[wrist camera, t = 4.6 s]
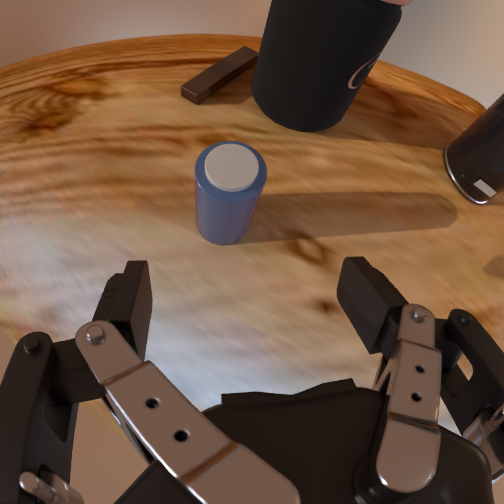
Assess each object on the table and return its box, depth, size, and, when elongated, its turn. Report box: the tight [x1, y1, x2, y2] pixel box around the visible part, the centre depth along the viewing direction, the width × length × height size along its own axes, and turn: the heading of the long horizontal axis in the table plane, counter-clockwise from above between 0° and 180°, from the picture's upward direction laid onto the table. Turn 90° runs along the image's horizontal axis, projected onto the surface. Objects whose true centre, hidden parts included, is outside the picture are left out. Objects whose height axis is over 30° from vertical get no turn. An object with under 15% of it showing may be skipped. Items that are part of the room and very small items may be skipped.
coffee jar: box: [251, 0, 411, 132], centre depth 23 cm, size 11×11×18 cm
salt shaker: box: [195, 141, 267, 245], centre depth 22 cm, size 4×4×8 cm
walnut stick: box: [181, 46, 259, 105], centre depth 30 cm, size 11×2×2 cm, turn 144°
